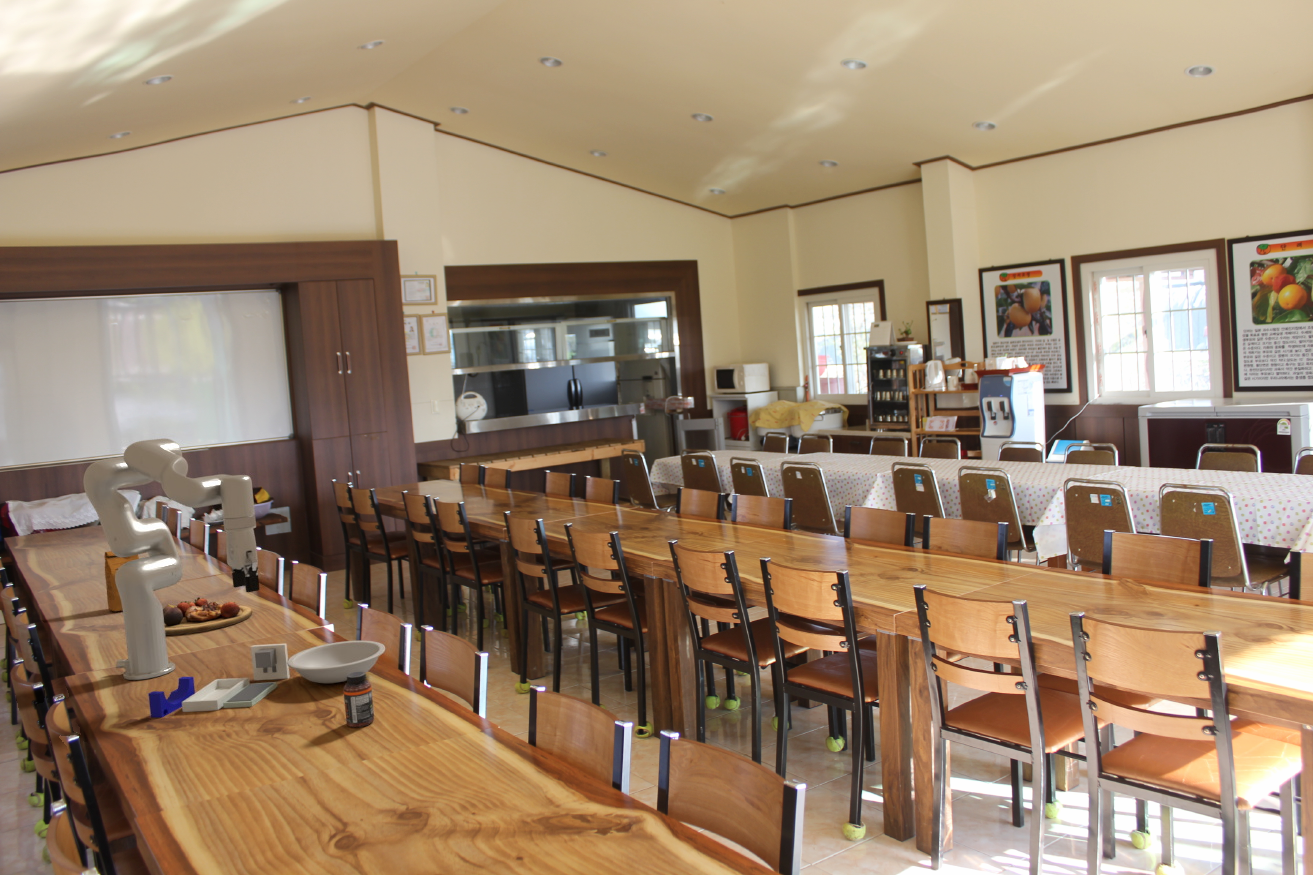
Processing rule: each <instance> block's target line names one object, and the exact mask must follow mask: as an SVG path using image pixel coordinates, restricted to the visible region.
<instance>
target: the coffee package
mask: <svg viewBox="0 0 1313 875" xmlns="http://www.w3.org/2000/svg"><path fill="white" fill-rule="evenodd" d="M103 558H104V561H105V562H104V576H105V577H104V579H105V584H106V585H105V586H106V587H105V588H106V600H107V607H108V611H112V612H123V608H122V602H121V598H120V595H119V592H118V589H117V586H116V582H115V575H116V572H117V570H118V569H119V567H121V566H122V565H123V564H125V563H127V562H129V561H132V560H136V559H140V557H139V554H138V555H134V556H129V557H117V556H116V555H114V554H113V553H112V551H111V550H110V551H105V552H104V557H103Z"/></svg>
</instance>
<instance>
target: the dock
mask: <svg viewBox="0 0 1313 875" xmlns="http://www.w3.org/2000/svg"><path fill="white" fill-rule="evenodd" d="M249 684H251V683H250V677H238V678H237V677H236V678H235V677H234V678H216V679H214V680H213V681H211V682H210V683H208V684H207V685H205V686H204V687H203V688H200V689H199V690H198V691H195V694H193V695H192V696H190V697H189V698H187V699H186V700H184V701H183V702H182V707H181V709H182V713H190V712H192V713H193V712H205V711H206V712H208V711H210V712H211V711H219V710H220V709H221V708H224V707H223V703H224V702H225V701H227V700H228V699H229V698H231V697H232V696H234V695H235V694H236V693H238V692H239V691H240V690H242V689H243V688H245V687H246V686H247V685H249Z"/></svg>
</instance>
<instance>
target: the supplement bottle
mask: <svg viewBox="0 0 1313 875" xmlns="http://www.w3.org/2000/svg"><path fill="white" fill-rule="evenodd" d="M366 675H367V674H366V673H365V672H363V671H357V672H352V673H349V674H348V675H347V681H346V683H345V685H344V686H343V689H342V690H343V701H344V708H345V710H344V711H345V721H346V725H347V726H348V727H351V728H362V727H366V726H369V725H370V724H372V723H373V722H374V720H375V714H374V703H373V701H374V700H373V690H372V684H371V682H370V681H369V680H366V679H367V676H366Z"/></svg>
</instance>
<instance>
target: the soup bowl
mask: <svg viewBox="0 0 1313 875" xmlns="http://www.w3.org/2000/svg"><path fill="white" fill-rule="evenodd" d="M385 650H386V647H385V645H384V644H383V643H381V642H378V641H377V642H376V641H374V640H346V641H338V642H332V643H330V642H329V643H325V644H321V645H317V646H313V647H310V648H307V649H303V650H302V651H299V652H297V653H295V654H292V655H291V656H290V657H288V662H287V664H288V666H289V668H291V669H293V670H295V671H296V672H297V673H298V674H299V675H300V676H301V677H302V678H304V679H306V680H308V681H310V682H313V683H316V684H317V683H318V684H335V683H341V682H342V683H343V682H347V675H348V674H349V673H352V672H357V671H363V672H365V674H366V673H367V672H369V671H370V670H371V669H372V668H373V667H374V665H375V664H376V663H377V661H378V659H379V658H380V656H381V655H383V654H384V652H385Z"/></svg>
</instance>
